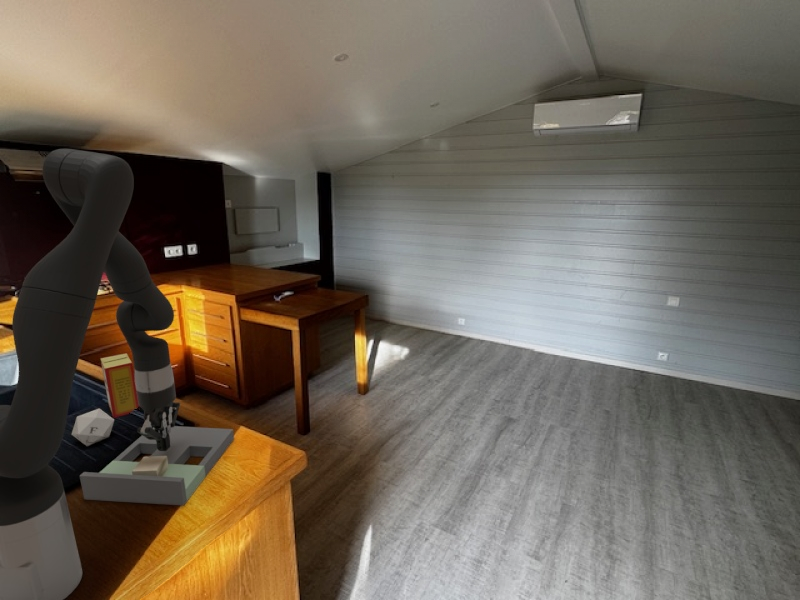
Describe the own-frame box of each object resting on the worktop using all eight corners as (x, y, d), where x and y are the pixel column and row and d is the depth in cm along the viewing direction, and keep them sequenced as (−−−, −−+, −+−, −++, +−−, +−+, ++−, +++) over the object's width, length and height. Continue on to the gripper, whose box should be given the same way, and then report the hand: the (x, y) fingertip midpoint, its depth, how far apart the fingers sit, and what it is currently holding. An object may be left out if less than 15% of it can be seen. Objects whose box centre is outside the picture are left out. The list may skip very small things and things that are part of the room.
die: (66, 450, 104) (70, 431, 99) (77, 420, 109) (81, 401, 104) (104, 452, 108) (110, 434, 103) (113, 423, 114) (119, 404, 109)
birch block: (158, 482, 88) (156, 470, 87) (134, 483, 88) (132, 471, 87) (168, 467, 93) (166, 455, 92) (145, 467, 93) (143, 456, 92)
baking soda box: (139, 410, 121) (131, 361, 117) (113, 418, 117) (104, 367, 113) (133, 398, 128) (126, 351, 124) (108, 405, 124) (100, 357, 120)
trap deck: (183, 505, 86) (180, 481, 84) (84, 499, 87) (79, 475, 85) (234, 438, 109) (232, 419, 107) (155, 434, 110) (152, 415, 108)
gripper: (152, 398, 86) (162, 468, 90) (187, 371, 98) (194, 434, 103) (118, 396, 86) (130, 466, 90) (157, 370, 99) (165, 432, 103)
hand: (164, 449), depth 97 cm, fingers closed
